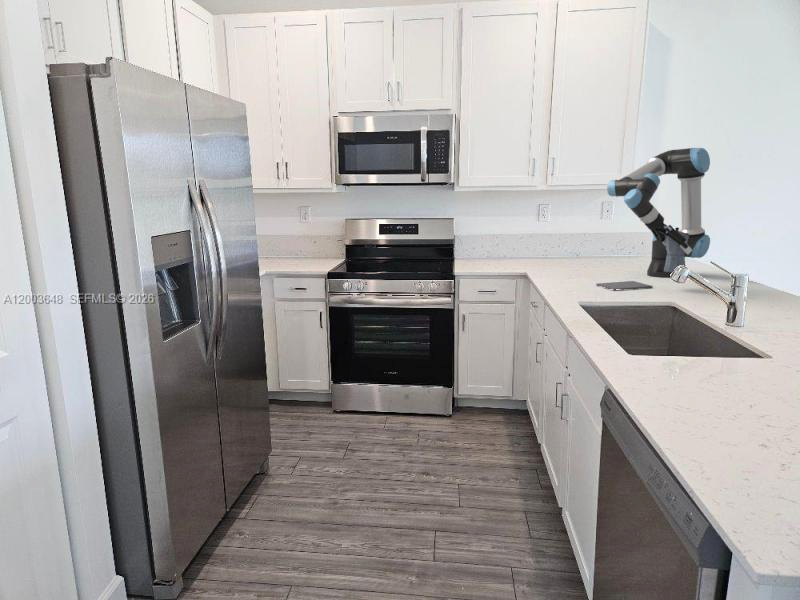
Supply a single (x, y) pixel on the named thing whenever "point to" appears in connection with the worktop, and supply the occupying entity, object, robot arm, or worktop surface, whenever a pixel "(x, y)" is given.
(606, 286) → the charcoal mat
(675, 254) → the moka pot
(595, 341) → the worktop surface
